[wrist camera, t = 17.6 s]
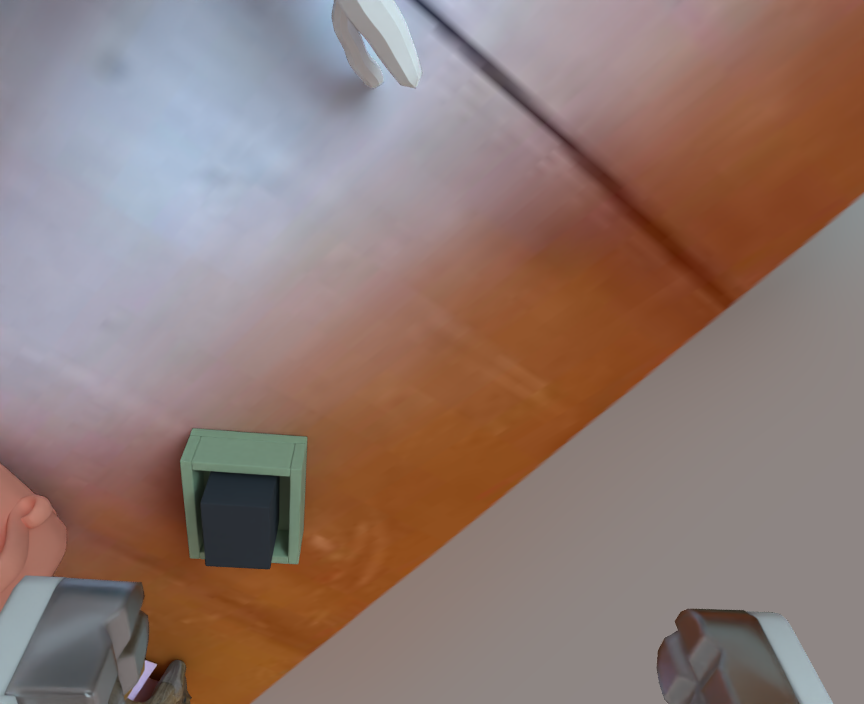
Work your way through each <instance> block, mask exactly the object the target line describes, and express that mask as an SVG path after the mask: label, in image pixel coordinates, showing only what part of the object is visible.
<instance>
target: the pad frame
mask: <svg viewBox="0 0 864 704" xmlns="http://www.w3.org/2000/svg"><path fill="white" fill-rule="evenodd" d="M306 458H307V437H302V436H289V435H275V434H262V433H249V432H235V431H222V430H209V429H195V428H193V429H192V431H191V434H190V437H189V439H188V442H187V444H186V447H185V449H184V452H183V455H182V457H181V460H180V468H181V478H182V487H183V497H184V507H185V516H186V526H187V536H188V545H189V555H190V558H196V559H205V554H204V542H203V530H202V519H201V507H200V502H201V499H202V496H203V493H204V490H205V487H206V484H207V481H208V478H209V475H210V472H211V471H215V472H229V473H244V474H258V475H273V476H280V500H279V525H278V531H277V536H276V541H275V546H274V551H273V556H272V561H271V563H285V564H287V563H289V564H298V563H299V556H300V549H301V543H302V536H303V530H304V506H305V482H306Z"/></svg>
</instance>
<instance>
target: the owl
mask: <svg viewBox="0 0 864 704" xmlns="http://www.w3.org/2000/svg"><path fill="white" fill-rule="evenodd" d="M332 22H333V27H334V31H335V33H336V35H337V37H338V39H339V41H340V43H341V45H342V47H343V49H344V51H345V54H346V57H347V60H348V62H349V64H350V66H351V68H352V69H353V70H354V72H355V73H356V74H357V75H358V76H359V77H360V78H361V80H362V81H363V83H364V84H365V85H366V86H368V87H370V88H372V89H374V88H376V87H378V86H380V85H381V84H382V83H384V77H383V74H382V70H381V68H380V66H379V64H378V63H377V62H376V61H375V60H374V59H373V58H372V57H371V56H370V54H369V53H368V51H367V50H366V47H365V45H364V42H363V39H362V37H361V35H360V33H361V34H362V35H363V36H364V38H365V39H366V40H367V41H368V43H369V44H370V46H371V47H372V49H373V50H374V52H375V53H376V54H377V56H378V57H379V59H380V60H381V61H382V63H383V64H384V65H385V67H386V68H387V69H388V71H389V72H390V73H391V74H392V75H393V77H394V78H395V79H396V80H397V82H398V83H399V84H400V85H402V86H407V87H411V88H416V87H417V85H418V82H419V80H420V78H421V75H422V70H421V66H420V62H419V59H418V56H417V52H416V49H415V46H414V43H413V40H412V37H411V34H410V32H409V29H408V26H407V23H406V21H405V19H404V17H403V15H402V13H401V11H400V10H399V8H398V6H397V5H396V3H395V2H394V0H334V4H333V9H332ZM359 32H360V33H359Z"/></svg>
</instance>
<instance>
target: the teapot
mask: <svg viewBox="0 0 864 704" xmlns="http://www.w3.org/2000/svg"><path fill="white" fill-rule="evenodd" d="M66 543H67V529H66V527H65V525H64V524H63V523H62V522H61V520H60V519H59V518H58V517H57V514H56V511H55V510H54V509H53V508H52V506H51V503H50V502H49V500H48V499H47V498H46V497H43V496H40V495H35V494H34V493H33V492H32V491H31V490H30V489H29V488H28V487H27V486H26V485H25V484H24V483H23V482H21V481H20V480H19V479H18V478H17V477H16V476H15V475H14V474H12V473H11V472H10V471H9V470H8V469H7V468H6V467H4V466H3V465H2V464H1V463H0V612H1V610H2V609H3V607H4V605H5V603H6V601H7V599H8V598H9V596H10V594H11V592H12V590H13V588H14V587H15V586H16V585H17V584H18V583H19V582H20V581H21V580H22V579H23V578H24V576H25V575H26V576H47V577H52V575H53V574H54V572H55V570H56V569H57V567H58V565H59V564H60V562H61V560H62V558H63V556H64V553H65V550H66Z"/></svg>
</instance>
